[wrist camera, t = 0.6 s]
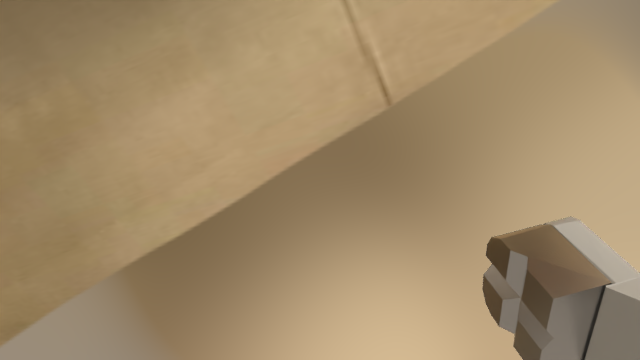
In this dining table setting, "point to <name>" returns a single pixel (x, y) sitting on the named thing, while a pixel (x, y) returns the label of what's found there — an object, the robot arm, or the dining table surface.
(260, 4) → the dining table surface
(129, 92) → the dining table surface
